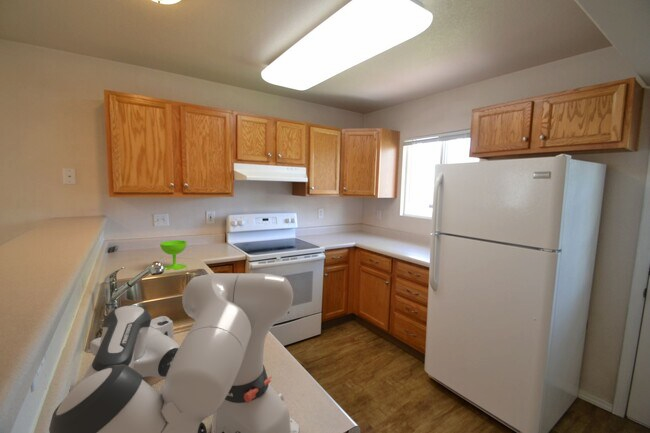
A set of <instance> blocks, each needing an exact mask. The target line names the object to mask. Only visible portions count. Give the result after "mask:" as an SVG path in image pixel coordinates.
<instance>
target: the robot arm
mask: <svg viewBox="0 0 650 433" xmlns="http://www.w3.org/2000/svg"><path fill="white" fill-rule="evenodd" d="M181 298H182V299H181V301H182V307H183V310H184V311H185V313H186V314H187V315H188V317H189V318H192V319H194V320H195V321H194V322H193V323H192V326H191V327H190V329H189V330H188V332H187V335H186V336H185V338H183V340H182V342H181V344H179V343H178V342H177V341H175V340H174V334H175V332H174V331H175V329H174V323H173V320H172V319H170V318H169V317H168V316H166V315H160V316H158V317H155V318H153V316H151V314H150V313H149V311H148V310H147V309H146V308H145V307H142V306H139V305H133V304H132V305H130V304H129V305H121V306H119V307H116V308H114V309H113V310H111V311H109V313H108V314H107V315H105V316H104V318H103V322H102V323H103V324H102V327H103V328H102V331H101V336H100V337H97V338H94V339H92V340H91V341H90V343H89V349H90V353H91V355H93V356H94V358H93V360H92V362H91V363H90V365H89V367H88V368H87V369H86V372H85V374H84V375H83V377H82V379H81V381H80V382H79V383H77V384H76V386H74V387H73V388H72V390H71V391H69V392H68V393H67V395H66V396H65V397H64V399H63V400H62V401H61V402H60V403H59V404H58V406H57V407H56V408H55V409H54V411H53V413H52V417H51V419H50V423H49V428H48V432H49V433H208V430H207V427H206V425H205V423H204V422H203V421H205V419H207V418H209V417H210V416H212V422H211V423H212V424H211V428H210V429H211V433H301V432H300V429H301V428H300V424H299V423H297V422H296V421H295V419H293V418H292V417H291V416H290V412H289V409H288V406H287V404H286V403H285V402H284V400H285V399H284V395H283V394H282V393H281V392H279V393H277V392H276V390H275V389H274V388H273V387H272V385H271V384H270V383H271V382H272V376H269V377H268V374H267V369H266V368H265V364H264V348H265V342H266V341H265V340H266V338H267V335H268V333H269V332H270V330H271V328H272V327H273V326H274V325H275V324H276V323H277V322H278V321H279V320H281V319H282V318H284V317H285V316H286V315H287V314H288V313H289V311H290V309H291V307H292V306H293V305H292V304H293V300H294V291H293V287H292V285H291V283H290V281H289V280H288V278H287V277H285V276H281V275H276V274H272V273H265V272H263V273H261V272H259V273H257V272H256V273H254V272H253V273H252V272H251V273H250V272H247V273H243V272H241V273H239V272H237V273H233V272H230V273H227V272H226V273H225V272H224V273H219V272H214V273H208V274H202V275H198V276H197V275H196V276H194V277H192V278H191V279H190V280H189V281H188V282H187V284H186V286H185V287H184V290H183V292H182V297H181ZM147 376H153V377H159V378H164V377H166V378H165V379H164V380H163V385H162V386H161V387H160V388H159V390H156V389H154V387H152V386H150V385H149V384H148V383H146V382H145V381H144V380H142V379H143V378H144V377H147Z"/></svg>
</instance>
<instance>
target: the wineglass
mask: <svg viewBox="0 0 650 433" xmlns="http://www.w3.org/2000/svg"><path fill="white" fill-rule="evenodd" d="M187 242H188V241H186V240H182V239H181V240H168V241H167V240H166V241H162V242H160V243H159V245H160V248H161V250H162V252H164V253H165V254H167V255H171V256H172V264H169V265H166V266H163V267H164V270H165V268H167V269H166V270H170V269H174V270H179V269H183V268H186V267H188V265H186V264H183V263H177V255H178V254H181V253H182V252H183V251H184V250H185V249H186V248H187V245H188V244H187Z"/></svg>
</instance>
